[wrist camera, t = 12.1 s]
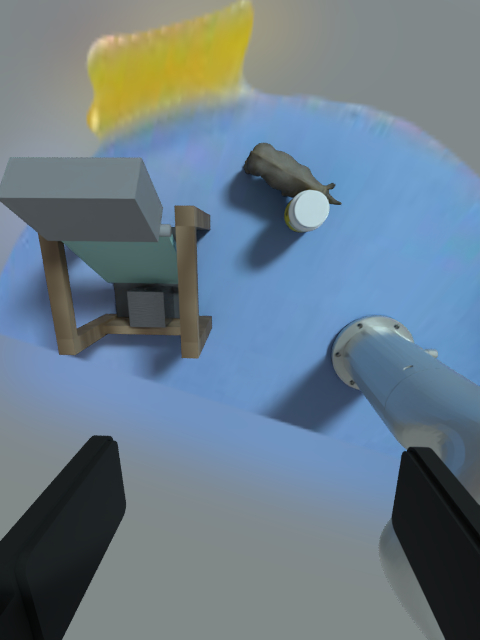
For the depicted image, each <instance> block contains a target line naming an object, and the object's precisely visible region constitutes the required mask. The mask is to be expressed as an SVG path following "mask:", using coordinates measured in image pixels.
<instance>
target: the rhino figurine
mask: <svg viewBox="0 0 480 640" xmlns="http://www.w3.org/2000/svg"><path fill="white" fill-rule="evenodd" d="M244 170H245V172H246V173H247V174H252V175H255V176H261V177H262V178H263V179H264V180H265V181H266V183H267V184H268V185H269V186H270V187H272V188H274V189H277V190H281V192H282V196H289V197H292V198H294V197H295V196H296V195H297V194H299V193H300V192H302V191H306V190H315V191H319V192H321V193H323V194H324V195H325V196H326V198H327V199H328V202H329V204H335V205H341V204H342V203H341V202H339V201H337V200H335V199H334V198H333V197H332V196H331V195H330V194H329V189H333V188H334V187H335V184H334V183H331V184H329V185H327V186H324V185H322V184H321V183H320V182H318V181H317V180H316V179H315V178H314V177H313V175H312V174H311V171H310V169H309V168H308V167H306V166H303V165H301V164H299V163H298V162H297V161H296V160H295V159H294V158H293V157H292V156H290V155H289V154H287V153H285V152H282V151H277V150H275V148H274V147H273V146H272V145H270V144H268V143H259V144H258V145H256V146H255V147H254V149H253V151H251V152H250V155H249V157H248V158H247V160H246V161H245V164H244Z"/></svg>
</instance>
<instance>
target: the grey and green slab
mask: <svg viewBox="0 0 480 640" xmlns="http://www.w3.org/2000/svg"><path fill="white" fill-rule="evenodd" d="M0 202H2V203H3V204H4V205H5V206H7V207H8V208H9V209H10V210H11V211H13V212H14V213H15V214H16V215H17V216H18V217H20V218H21V219H22V220H23V221H24V222H26V223H27V224H28V225H29V226H30V227H32V228H33V229H34V230H35V231H36V232H38V233H39V234H40V235H41V236H42V237H44V238H45V239H46V240H47V241H62V242H63V243H64V244H65V245H66V246H67V247H68V248H69V249H71V250H72V251H73V252H74V253H75V254H76V255H77V256H78V257H80V258H81V259H82V260H83V261H84V262H85V263H86V264H87V265H88V266H90V267H91V268H92V269H93V270H94V271H95V272H96V273H97V274H99V275H100V276H101V277H102V278H103V279H104V280H105V281H106V282H108V283H160V284H178V269H177V248H176V242H175V239H174V237H173V235H172V228H171V225H169V224H161V218H162V210H163V207H162V204H161V202H160V200H159V197H158V195H157V193H156V190H155V188H154V186H153V183H152V181H151V179H150V176H149V174H148V171H147V169H146V167H145V164H144V162H143V160H142V158H42V157H41V158H40V157H38V158H37V157H36V158H34V157H31V158H29V157H28V158H27V157H26V158H25V157H24V158H23V157H22V158H21V157H19V158H18V157H17V158H16V157H15V158H14V157H13V158H12V157H11V158H9V161H8V164H7V167H6V170H5V173H4V176H3V179H2V182H1V185H0Z"/></svg>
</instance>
